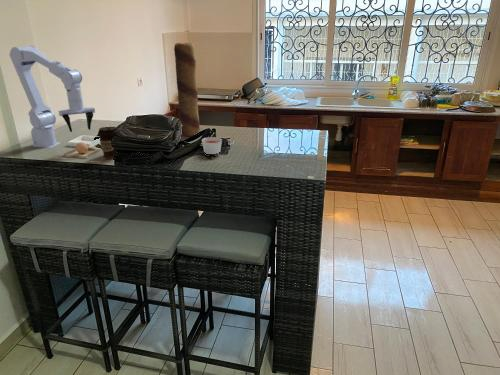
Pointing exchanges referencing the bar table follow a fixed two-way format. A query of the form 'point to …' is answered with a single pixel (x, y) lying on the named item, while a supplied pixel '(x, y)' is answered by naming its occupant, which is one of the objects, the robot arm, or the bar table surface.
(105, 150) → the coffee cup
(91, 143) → the dish
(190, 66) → the wafer roll
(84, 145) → the ball
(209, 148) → the candle
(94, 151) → the tray
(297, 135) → the bar table surface
